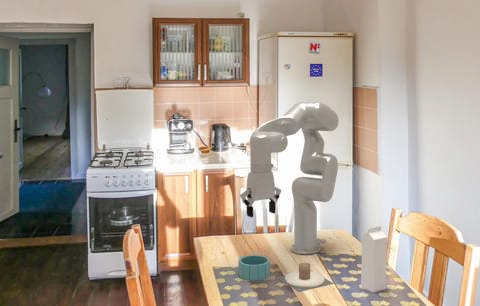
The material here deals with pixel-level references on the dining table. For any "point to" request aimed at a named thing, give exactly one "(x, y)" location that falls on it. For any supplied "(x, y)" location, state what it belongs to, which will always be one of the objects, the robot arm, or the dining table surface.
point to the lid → (304, 277)
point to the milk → (374, 260)
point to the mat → (326, 282)
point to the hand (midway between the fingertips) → (261, 214)
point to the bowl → (254, 267)
